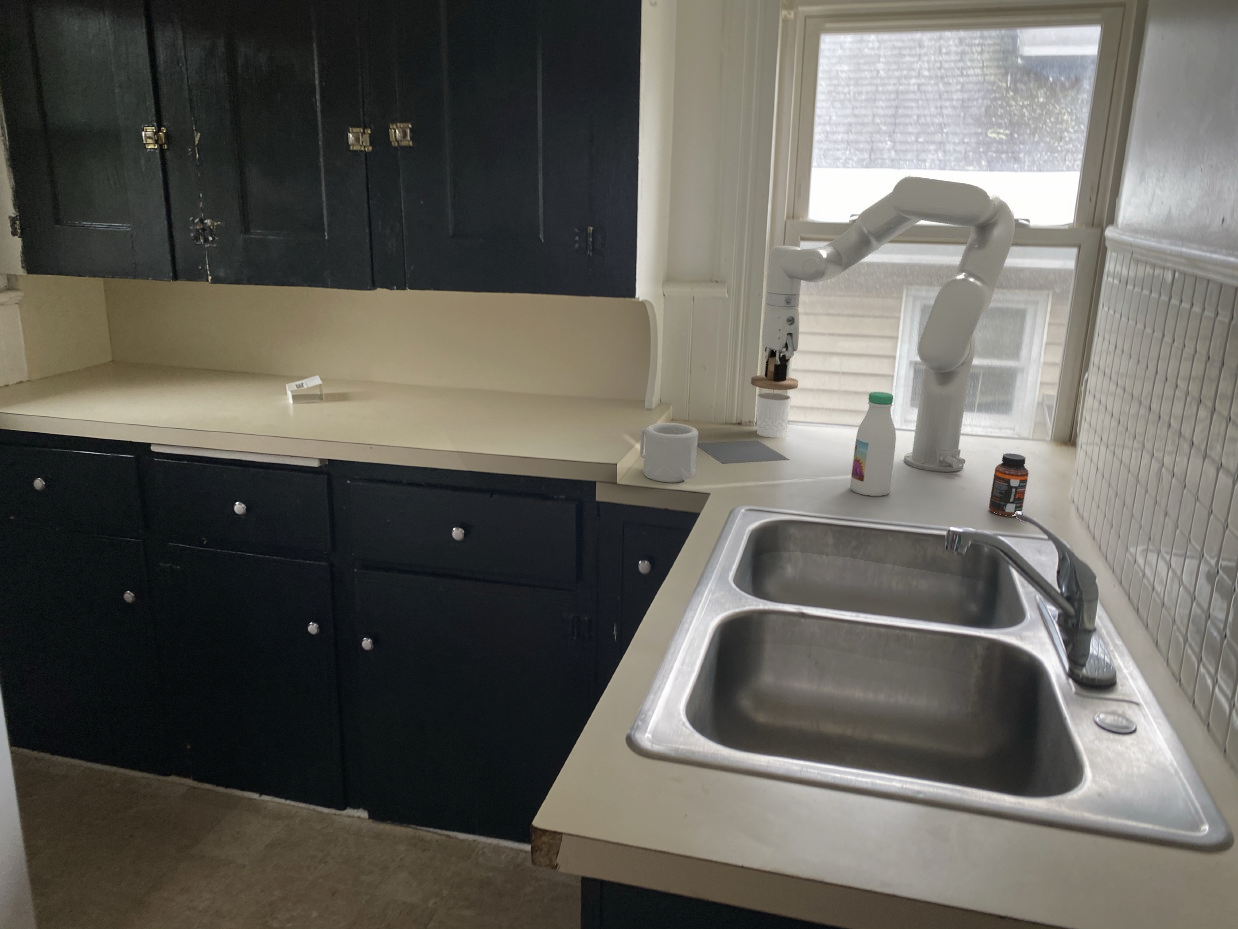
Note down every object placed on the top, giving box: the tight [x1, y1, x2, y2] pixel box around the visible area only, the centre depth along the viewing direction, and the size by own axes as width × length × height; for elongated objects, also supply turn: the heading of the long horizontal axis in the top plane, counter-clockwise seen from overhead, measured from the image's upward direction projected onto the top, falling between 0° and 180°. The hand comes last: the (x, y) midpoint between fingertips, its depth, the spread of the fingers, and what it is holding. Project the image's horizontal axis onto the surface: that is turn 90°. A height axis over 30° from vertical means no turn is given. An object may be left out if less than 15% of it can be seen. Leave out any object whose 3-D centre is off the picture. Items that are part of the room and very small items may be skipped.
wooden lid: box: [750, 357, 799, 391], centre depth 226 cm, size 11×11×6 cm
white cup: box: [756, 392, 792, 439], centre depth 229 cm, size 8×8×10 cm
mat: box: [697, 439, 791, 465], centre depth 214 cm, size 16×16×1 cm
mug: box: [639, 422, 699, 484], centre depth 197 cm, size 14×11×10 cm
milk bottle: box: [850, 391, 897, 497], centre depth 190 cm, size 8×8×20 cm
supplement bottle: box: [988, 452, 1029, 518], centre depth 181 cm, size 6×6×11 cm
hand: (775, 378), depth 226 cm, fingers closed on wooden lid, 3 cm apart
